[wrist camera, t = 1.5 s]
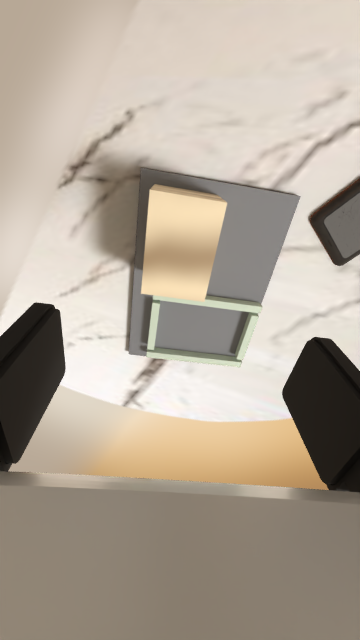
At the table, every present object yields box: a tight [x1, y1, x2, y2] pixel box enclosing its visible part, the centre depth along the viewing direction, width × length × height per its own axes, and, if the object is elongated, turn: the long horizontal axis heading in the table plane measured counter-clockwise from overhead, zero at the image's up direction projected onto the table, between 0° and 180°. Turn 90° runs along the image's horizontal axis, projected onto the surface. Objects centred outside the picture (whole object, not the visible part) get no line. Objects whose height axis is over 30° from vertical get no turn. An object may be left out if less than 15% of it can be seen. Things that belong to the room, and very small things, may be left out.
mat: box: [129, 168, 300, 367], centre depth 27 cm, size 20×14×2 cm
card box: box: [141, 184, 227, 302], centre depth 22 cm, size 8×6×5 cm
